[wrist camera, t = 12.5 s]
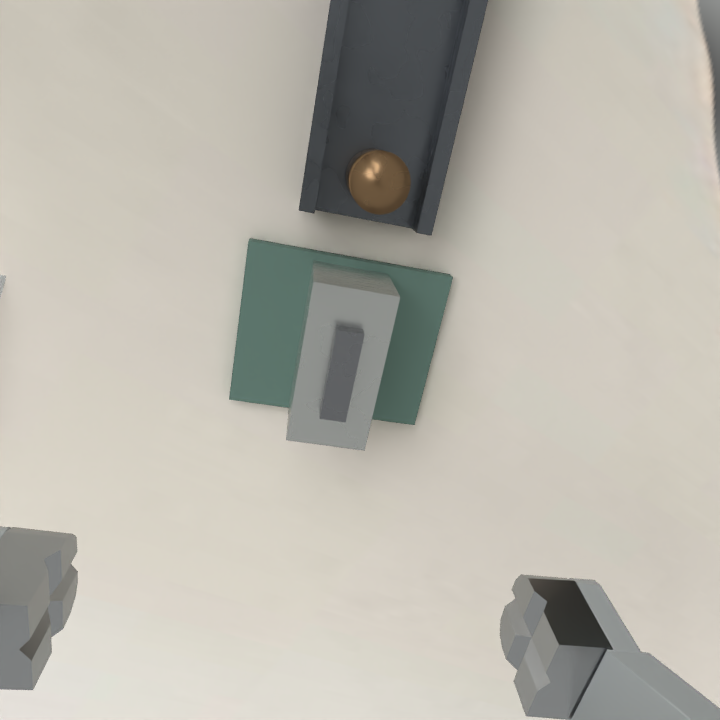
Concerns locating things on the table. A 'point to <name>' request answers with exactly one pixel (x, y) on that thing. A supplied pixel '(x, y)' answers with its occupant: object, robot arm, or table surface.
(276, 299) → the rubber mat
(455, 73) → the dark grey channel holder
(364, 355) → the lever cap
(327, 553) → the table surface
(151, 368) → the table surface
